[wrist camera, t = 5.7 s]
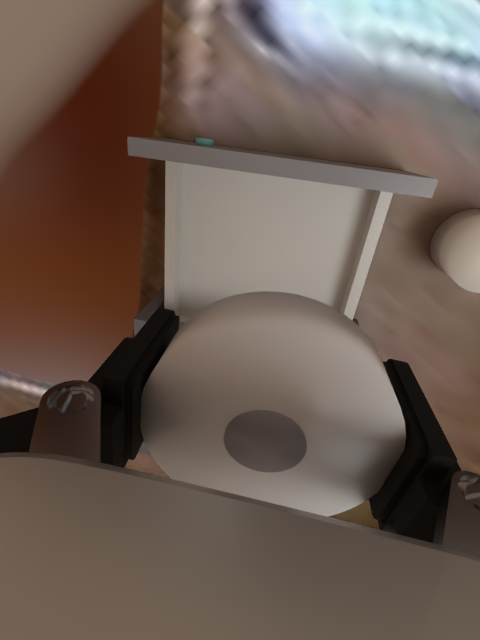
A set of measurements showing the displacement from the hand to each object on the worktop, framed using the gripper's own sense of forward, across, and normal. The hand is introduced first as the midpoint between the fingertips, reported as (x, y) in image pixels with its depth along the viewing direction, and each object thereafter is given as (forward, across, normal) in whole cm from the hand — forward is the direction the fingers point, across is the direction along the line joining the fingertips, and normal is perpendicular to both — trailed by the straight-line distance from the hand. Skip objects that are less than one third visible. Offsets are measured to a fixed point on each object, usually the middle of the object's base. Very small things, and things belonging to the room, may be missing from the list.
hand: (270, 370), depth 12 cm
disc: (-1, 0, 0) cm, 1 cm away
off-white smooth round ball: (+18, -14, -3) cm, 23 cm away
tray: (+18, +1, +1) cm, 18 cm away
